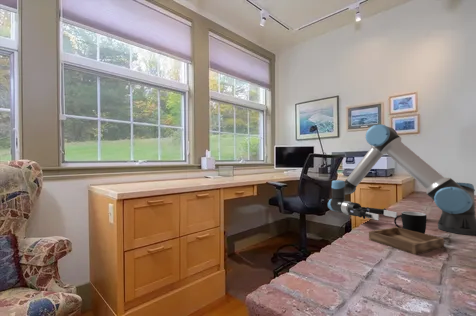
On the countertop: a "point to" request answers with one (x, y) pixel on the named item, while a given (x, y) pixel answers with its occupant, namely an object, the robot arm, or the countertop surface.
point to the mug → (413, 221)
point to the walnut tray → (406, 240)
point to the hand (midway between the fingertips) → (388, 216)
